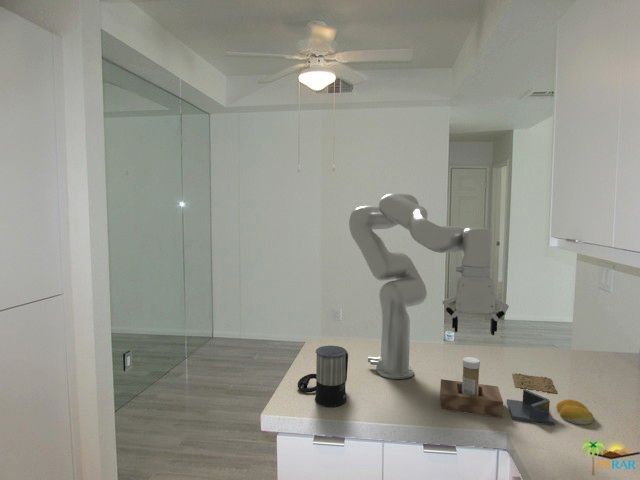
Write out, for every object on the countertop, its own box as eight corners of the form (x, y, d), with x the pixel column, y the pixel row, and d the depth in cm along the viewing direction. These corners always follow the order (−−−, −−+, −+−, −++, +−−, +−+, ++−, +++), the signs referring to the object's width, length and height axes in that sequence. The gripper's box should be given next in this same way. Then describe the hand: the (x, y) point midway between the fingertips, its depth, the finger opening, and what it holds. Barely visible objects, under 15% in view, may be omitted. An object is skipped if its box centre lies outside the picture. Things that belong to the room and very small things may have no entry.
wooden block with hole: (440, 409, 114) (441, 393, 114) (440, 393, 124) (440, 379, 123) (502, 418, 110) (503, 401, 109) (497, 401, 119) (497, 386, 119)
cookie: (511, 374, 140) (511, 371, 140) (551, 380, 135) (551, 377, 135) (514, 389, 128) (514, 386, 128) (558, 395, 124) (558, 392, 124)
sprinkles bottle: (481, 406, 116) (483, 360, 115) (471, 410, 113) (473, 363, 112) (467, 399, 120) (469, 355, 119) (457, 403, 117) (459, 358, 116)
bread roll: (563, 423, 108) (564, 409, 107) (552, 407, 116) (553, 394, 116) (598, 428, 106) (599, 413, 105) (585, 411, 114) (586, 397, 114)
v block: (512, 420, 109) (513, 403, 108) (506, 401, 119) (507, 387, 118) (554, 426, 106) (555, 409, 106) (544, 407, 116) (545, 391, 116)
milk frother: (344, 409, 113) (345, 357, 112) (289, 403, 116) (289, 353, 115) (349, 387, 127) (350, 341, 126) (300, 382, 130) (301, 337, 129)
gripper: (443, 272, 112) (441, 333, 113) (512, 275, 107) (509, 339, 109) (443, 268, 119) (441, 326, 121) (507, 271, 115) (505, 331, 116)
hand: (473, 332), depth 115 cm, fingers open, 9 cm apart
